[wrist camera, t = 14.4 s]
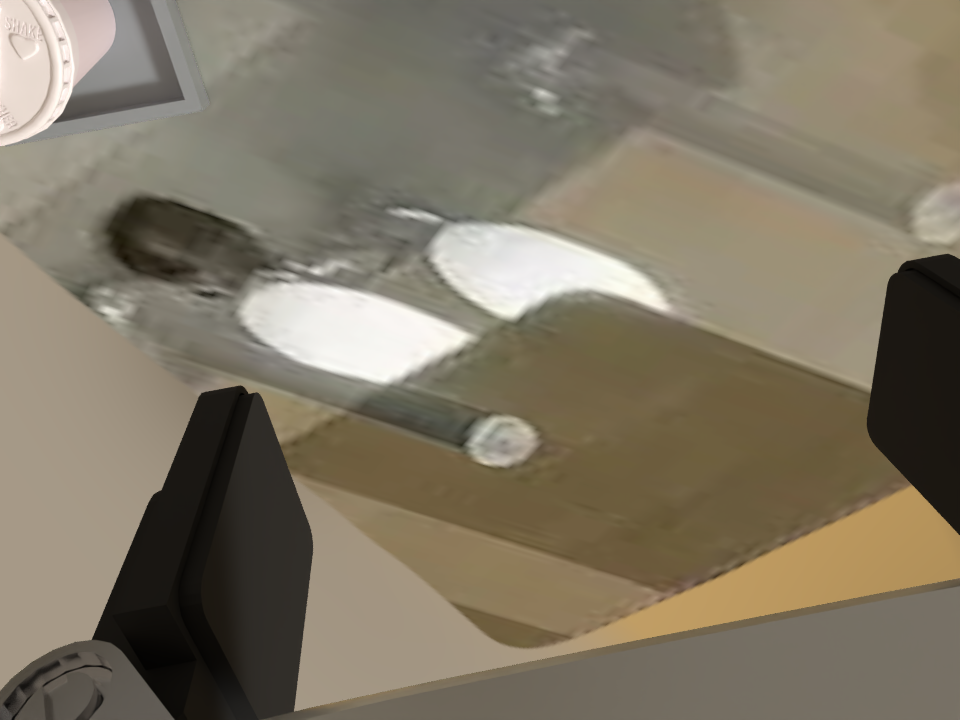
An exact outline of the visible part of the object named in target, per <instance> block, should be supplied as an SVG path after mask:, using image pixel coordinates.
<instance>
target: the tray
mask: <svg viewBox="0 0 960 720" xmlns="http://www.w3.org/2000/svg"><path fill="white" fill-rule="evenodd" d="M108 1H109V3H110V5H111V7H112V10H113V13H114V17H115V23H116V32H115V38H114V41H113V43H112V46H111V47H110V49H109V50H108V51H107V52H106V54H105V55H104V56H103V57H102V58H101V59H100V60H99V61H98V62H97V63H96V64H95V65H94V66H93V67H92V68H91V69H90V70H89V71H88V72H87V73H86V75H85V76H84V77H83V78H82V79H81V80H80V81H79V82H78V83H77V84H76V85H75V86H74V87H73V89H72V93H71V96H70V98H69V100H68V102H67V104H66V106H65V109H64V111H63V113H62V114H61V115H60V116H59V117H58V118H57V119H56V120H55V121H54V122H53V123H52V124H51V125H50V126H49V127H48V128H47V129H45V130H43V131H41V132H39V133H37V134H35V135H33V136H31V137H30V138H28V139H23V140H21V141H19V142H16V143H12V144H9V145H5V146H12V145H17V144H23V143H28V142H34V141H39V140H45V139H51V138H56V137H62V136H67V135H73V134H78V133H84V132H89V131H95V130H100V129H106V128H112V127H117V126H123V125H128V124H134V123H139V122H145V121H150V120H156V119H161V118H167V117H173V116H178V115H184V114H189V113H195V112H200V111H203V110H204V109H205V108H206V107H207V106H208V105H209V104H210V102H209V99H208V96H207V93H206V90H205V87H204V84H203V81H202V78H201V75H200V72H199V69H198V66H197V63H196V60H195V57H194V54H193V51H192V48H191V45H190V42H189V39H188V36H187V33H186V30H185V27H184V24H183V21H182V18H181V15H180V11H179V8H178V5H177V2H176V0H108Z"/></svg>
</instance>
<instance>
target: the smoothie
mask: <svg viewBox="0 0 960 720" xmlns="http://www.w3.org/2000/svg"><path fill="white" fill-rule="evenodd" d="M115 32H116V23H115V17H114V13H113V10H112V7H111V5H110V3H109V1H108V0H0V146H3V145H9V144H12V143H16V142H19V141H21V140H23V139H28V138H30V137H31V136H33V135H35V134H37V133H39V132H41V131H43V130H45V129H47V128H48V127H49V126H50V125H51V124H52V123H53V122H54V121H55V120H56V119H57V118H58V117H59V116H60V115H61V114H62V113H63V111H64V109H65V106H66V104H67V102H68V100H69V98H70V96H71V93H72V89H73V87H74V86H75V85H76V84H77V83H78V82H79V81H80V80H81V79H82V78H83V77H84V76H85V75H86V73H87V72H88V71H89V70H90V69H91V68H92V67H93V66H94V65H95V64H96V63H97V62H98V61H99V60H100V59H101V58H102V57H103V56H104V55H105V54H106V52H107V51H108V50H109V49H110V47H111V46H112V43H113V41H114V38H115Z"/></svg>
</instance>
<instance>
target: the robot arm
mask: <svg viewBox="0 0 960 720" xmlns="http://www.w3.org/2000/svg"><path fill="white" fill-rule="evenodd" d="M867 429H868V433H869V436H870V438H871V440H872V442H873V443H874V444H875V446H876V447H877V448H878V449H879V450H880V451H881V452H882V453H883V454H884V455H885V456H886V457H887V458H888V460H889V461H890V462H891V463H892V464H893V465H894V466H895V467H896V468H897V469H898V470H899V471H900V472H901V473H902V474H903V475H904V477H905V478H906V479H907V480H908V481H909V482H910V483H911V484H912V485H913V486H914V487H915V488H916V489H917V490H918V491H919V492H920V493H921V494H922V496H923V497H924V498H925V499H926V500H927V501H928V502H929V503H930V504H931V505H932V506H933V507H934V508H935V509H936V510H937V512H938V513H940V515H941V516H942V517H943V518H944V519H945V520H946V521H947V522H948V523H949V524H950V525H951V526H952V527H953V529H954V530H955V531H956V532H957V533H958V534H959V535H960V259H958V258H957V257H955V256H953V255H950V254H943V255H937V256H932V257H927V258H921V259H916V260H911V261H906V262H905V263H903V264H902V265H901V267H900V268H899V270H898V273H895V274H893V275H892V276H891V277H890V279H889V282H888V285H887V292H886V298H885V305H884V311H883V318H882V324H881V331H880V337H879V344H878V351H877V357H876V364H875V370H874V377H873V383H872V390H871V396H870V403H869V410H868V416H867ZM312 555H313V540H312V533H311V529H310V526H309V523H308V520H307V518H306V515H305V512H304V510H303V507H302V504H301V501H300V499H299V496H298V493H297V491H296V488H295V485H294V482H293V480H292V477H291V474H290V472H289V469H288V466H287V463H286V461H285V458H284V455H283V453H282V450H281V447H280V445H279V442H278V439H277V436H276V434H275V431H274V428H273V426H272V423H271V420H270V418H269V415H268V412H267V409H266V407H265V404H264V401H263V399H262V397H261V396H260V394H259V393H251V394H248V392H247V390H246V389H245V388H244V387H243V386H235V387H230V388H224V389H219V390H214V391H208V392H204V393H201V395H200V396H199V398H198V401H197V403H196V406H195V408H194V411H193V413H192V416H191V418H190V421H189V423H188V426H187V428H186V431H185V433H184V436H183V438H182V441H181V443H180V446H179V448H178V451H177V453H176V456H175V458H174V461H173V463H172V466H171V468H170V471H169V473H168V476H167V478H166V480H165V483H164V486H163V488H162V490H161V491H159V492H157V493H155V494H154V495H153V496H152V498H151V500H150V501H149V503H148V505H147V508H146V510H145V513H144V515H143V518H142V520H141V522H140V525H139V527H138V529H137V532H136V534H135V537H134V539H133V542H132V544H131V546H130V549H129V551H128V554H127V556H126V559H125V561H124V563H123V566H122V568H121V571H120V573H119V575H118V578H117V580H116V583H115V585H114V588H113V590H112V592H111V595H110V597H109V599H108V602H107V604H106V607H105V609H104V611H103V614H102V617H101V619H100V621H99V624H98V626H97V628H96V631H95V633H94V636H93V638H92V640H89V641H81V642H74V643H71V644H68V645H66V646H63V647H60V648H58V649H55V650H52V651H51V652H49V653H47V654H46V655H44V656H42V657H40V658H38V659H37V660H35V661H33V662H32V663H30V664H29V665H28V666H26V667H25V668H24V669H23V670H21V671H20V672H19V673H18V674H16V675H15V676H14V677H13V678H12V679H11V680H10V681H9V682H8V683H7V684H6V685H5V686H4V687H3V689H2V690H1V691H0V720H960V578H959V579H954V580H948V581H943V582H938V583H932V584H927V585H922V586H916V587H911V588H906V589H900V590H895V591H890V592H885V593H879V594H874V595H869V596H864V597H859V598H853V599H849V600H843V601H838V602H833V603H827V604H822V605H817V606H812V607H807V608H801V609H797V610H791V611H786V612H781V613H775V614H770V615H765V616H760V617H755V618H750V619H745V620H739V621H734V622H729V623H724V624H719V625H714V626H709V627H703V628H698V629H693V630H688V631H683V632H678V633H673V634H668V635H663V636H657V637H652V638H647V639H642V640H637V641H632V642H627V643H622V644H617V645H612V646H607V647H602V648H597V649H592V650H587V651H582V652H577V653H572V654H567V655H562V656H557V657H552V658H547V659H542V660H537V661H532V662H527V663H522V664H517V665H512V666H507V667H502V668H497V669H492V670H487V671H482V672H477V673H472V674H467V675H462V676H457V677H451V678H446V679H441V680H437V681H432V682H427V683H423V684H418V685H413V686H408V687H404V688H400V689H395V690H390V691H385V692H380V693H376V694H372V695H366V696H362V697H357V698H353V699H348V700H343V701H339V702H334V703H330V704H325V705H321V706H316V707H312V708H307V709H303V710H300V711H295V712H294V706H295V698H296V690H297V681H298V673H299V664H300V656H301V648H302V639H303V630H304V622H305V613H306V606H307V605H306V604H307V597H308V588H309V580H310V571H311V563H312Z"/></svg>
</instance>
